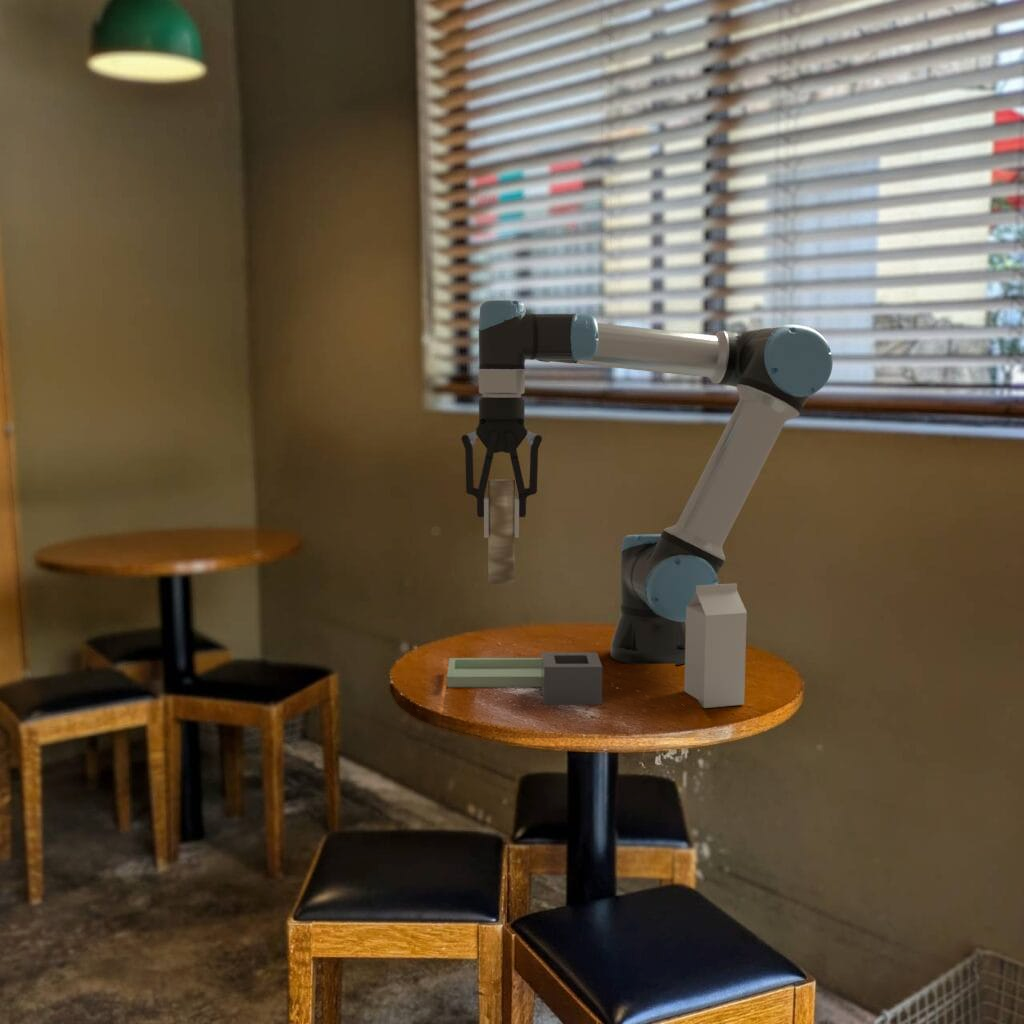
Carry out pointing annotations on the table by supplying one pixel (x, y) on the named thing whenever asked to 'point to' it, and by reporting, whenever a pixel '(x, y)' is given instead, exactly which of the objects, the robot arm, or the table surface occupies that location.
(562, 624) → the table surface
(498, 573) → the dowel
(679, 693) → the table surface
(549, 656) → the square block with hole
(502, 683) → the tray
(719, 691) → the milk carton
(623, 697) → the table surface
